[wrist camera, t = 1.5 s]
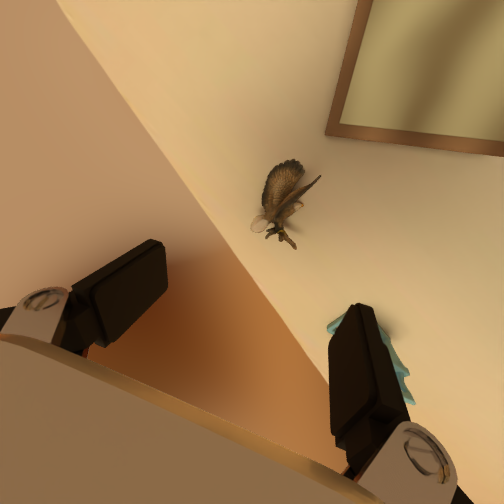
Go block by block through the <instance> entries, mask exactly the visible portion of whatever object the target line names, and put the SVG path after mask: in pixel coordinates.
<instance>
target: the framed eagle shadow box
mask: <svg viewBox="0 0 504 504" xmlns="http://www.w3.org/2000/svg"><path fill="white" fill-rule="evenodd" d="M325 135H328V136H336V137H344V138H352V139H361V140H369V141H377V142H385V143H393V144H401V145H409V146H418V147H426V148H434V149H442V150H450V151H458V152H466V153H475V154H483V155H491V156H499V157H504V0H358V4H357V8H356V12H355V16H354V20H353V24H352V28H351V32H350V36H349V40H348V44H347V48H346V52H345V56H344V60H343V64H342V68H341V71H340V75H339V79H338V83H337V87H336V91H335V95H334V99H333V103H332V107H331V111H330V115H329V119H328V123H327V127H326V131H325Z"/></svg>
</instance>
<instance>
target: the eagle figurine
mask: <svg viewBox="0 0 504 504" xmlns="http://www.w3.org/2000/svg"><path fill="white" fill-rule="evenodd" d="M304 173H305V170H303V166H302V165H300V162H299V161H296V160H295V159H292V160H291V161H289V160H287V161H285V162H284V164H282V163H280V164H279V166H278V165H277V166H275V167H274V168H273V170H272V171H271V172H270V174H269V175H268V179H267V181H266V185H265V187H264V192H263V193H262V206H263V207H264V209H265V212H266V213H265V215H259V216H256V217H255V218H254V219H253V222H252V224H251V230H252V231H253V232H255V233H260V232H262V231H264V230H265V228H266V227H267V226H268V224H269V223H271V222H272V223H274V224H275V227H273V228H271V229H268V230H266V231H267V232H269V233H268V234H267V235H266V237H265V238H266V239H267V238H268V237H269V236H270V235H273V234H276V233H277V234H279V241H280V242H282V241H283V240H285V241H287V242H288V243H289V244H290V245H291V246H292V247H293V249H295V250H296V249H297V247H296V244H295V243H294V242H293V241H292V240H291V239H290V238H289V237H288V235H287V233H286V232H285V231H284V227H283V225H282V224H283V221H284V219H285V218H286V217H289V216H290V215H292V214H293V213H294V212H295V211H296V210H298V209H299V208H300V207H303V206H304V205H303V204H301V203H298V202H296V201H297V200H298V199H299V198H300V197H301V196H302V195H303V194H304V193H305V192H306V191H307V190H308V189H310V187H312V186H313V185H314V184H315V183H316V182H317V180H318V179H319V178H320V177H321V175H320V176H318V177H317V178H316V179H315V180H314V181H313V182H312V183H311V184H309V185H307V186H304V187H302V188H299V189H297V190H295V191H293V192H292V193H291V194H290V192H291V190H292V188H293V186H294V185H295V183H296V182H297V181H298V180H299V179H300V178H301V177H302V176H303V174H304ZM289 194H290V195H289ZM295 202H296V203H295Z"/></svg>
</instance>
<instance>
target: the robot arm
mask: <svg viewBox="0 0 504 504" xmlns="http://www.w3.org/2000/svg"><path fill="white" fill-rule="evenodd" d="M71 287H72V289H73V290H72V291H71V292H68V291H67V289H65V288H62V287H48V288H43V289H40V290H37V291H34V292H32V293H30V294H28V295H27V296H26V297H24V298H23V299H22V300H21V301H20V302H19V303H18V304H17V306H15V307H8V308H3V309H0V504H474V503H473V502H472V501H471V500H470V499H469V498H468V496H467V495H466V494H465V493H464V492H463V491H462V490H461V488H460V487H459V486H458V485H457V480H458V478H457V474H456V469H455V466H454V464H453V462H452V460H451V458H450V456H449V454H448V453H447V451H446V450H445V448H444V447H443V445H442V444H441V443H440V442H439V441H438V440H437V439H436V437H435V436H434V435H432V434H431V433H430V432H429V431H428V430H427V429H425V428H424V427H422V426H420V425H419V424H417V423H414V422H411V420H410V417H409V414H408V411H407V407H406V404H405V401H404V398H403V395H402V391H401V388H400V385H399V382H398V379H397V375H396V372H395V369H394V366H393V362H392V359H391V356H390V353H389V350H388V347H387V346H386V345H385V344H384V343H383V341H382V338H381V334H380V331H379V328H378V324H377V321H376V317H375V314H374V311H373V308H372V307H370V306H367V305H364V304H361V303H356V304H355V305H353V304H352V305H351V306H350V307H349V309H348V311H347V312H346V314H345V316H344V317H343V319H342V321H341V323H340V324H339V326H338V328H337V329H336V331H335V333H334V335H333V336H332V338H331V340H330V342H329V345H328V362H329V392H330V393H329V394H330V428H331V433H332V435H334V436H335V442H336V443H335V444H336V447H338V448H340V449H343V450H345V451H346V456H347V462H348V466H347V467H346V468H345V469H344V471H343V472H342V473H341V474H339V473H337V472H335V471H334V470H332V469H330V468H328V467H326V466H324V465H322V464H320V463H317V462H315V461H313V460H311V459H309V458H307V457H305V456H303V455H300V454H298V453H296V452H294V451H292V450H290V449H288V448H286V447H284V446H281V445H279V444H277V443H275V442H272V441H270V440H268V439H266V438H264V437H262V436H259V435H257V434H255V433H253V432H251V431H248V430H246V429H244V428H242V427H239V426H237V425H235V424H233V423H231V422H228V421H226V420H224V419H222V418H219V417H217V416H215V415H213V414H210V413H208V412H206V411H204V410H202V409H199V408H197V407H195V406H193V405H190V404H188V403H186V402H183V401H181V400H179V399H177V398H175V397H172V396H170V395H168V394H166V393H163V392H161V391H159V390H157V389H154V388H152V387H150V386H148V385H145V384H143V383H141V382H138V381H136V380H134V379H132V378H129V377H127V376H125V375H123V374H120V373H118V372H116V371H114V370H111V369H109V368H107V367H104V366H102V365H100V364H98V363H95V362H93V361H91V360H88V359H87V356H88V352H89V347H90V345H91V344H93V342H95V344H97V345H99V346H101V347H104V348H106V347H107V346H108V345H109V344H110V343H111V342H115V341H116V340H117V339H118V338H119V337H120V336H121V335H122V334H123V333H124V332H125V331H126V330H127V329H128V328H129V327H130V326H131V325H132V324H133V323H134V322H135V321H136V320H137V319H138V318H139V317H140V316H141V315H142V314H143V313H144V312H145V311H146V310H147V309H148V308H149V307H150V306H151V305H152V304H153V303H154V302H155V301H156V300H157V299H158V298H159V297H160V296H161V295H162V294H163V293H164V292H165V291H166V290H167V288H168V278H167V266H166V253H165V247H164V246H163V244H162V242H159V241H156V240H153V239H149V240H147V241H145V242H143V243H142V244H140V245H138V246H137V247H135V248H133V249H132V250H130V251H128V252H127V253H125V254H124V255H122V256H120V257H118V258H117V259H115V260H114V261H112V262H110V263H108V264H107V265H105V266H104V267H102V268H100V269H99V270H97V271H95V272H94V273H92V274H90V275H89V276H87V277H85V278H84V279H82V280H80V281H79V282H77V283H75V284H74V285H72V286H71Z"/></svg>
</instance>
